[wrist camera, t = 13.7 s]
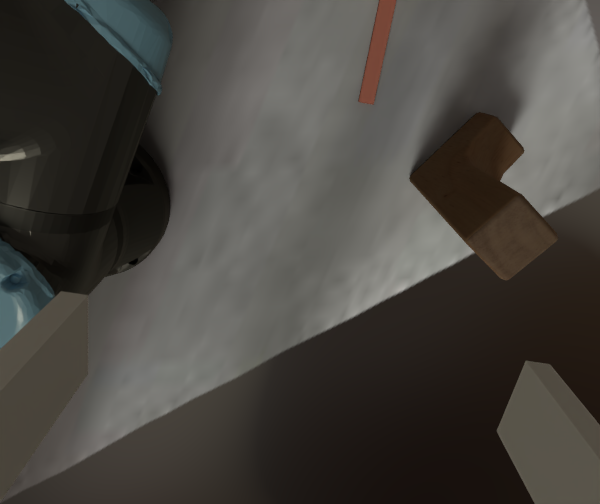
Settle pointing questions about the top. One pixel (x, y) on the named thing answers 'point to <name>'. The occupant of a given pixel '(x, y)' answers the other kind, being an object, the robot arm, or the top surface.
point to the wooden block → (484, 196)
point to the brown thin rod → (377, 50)
